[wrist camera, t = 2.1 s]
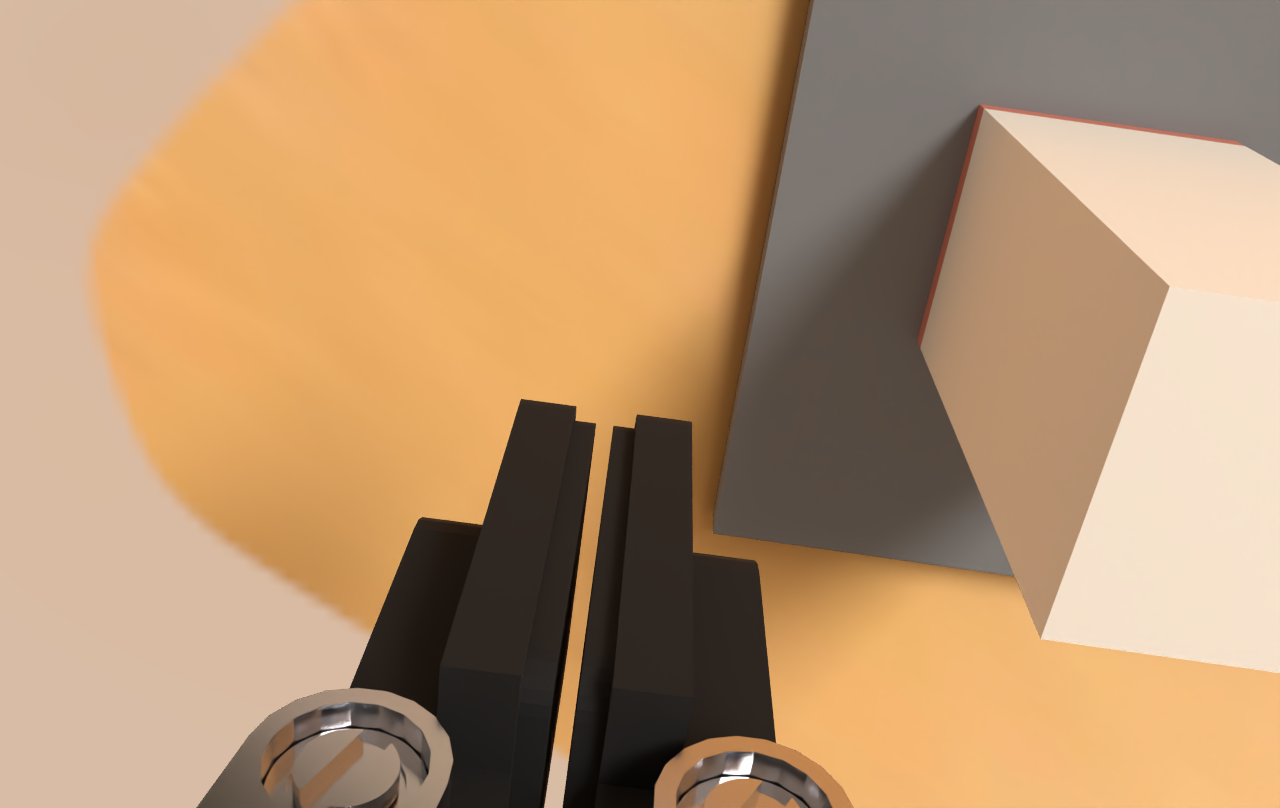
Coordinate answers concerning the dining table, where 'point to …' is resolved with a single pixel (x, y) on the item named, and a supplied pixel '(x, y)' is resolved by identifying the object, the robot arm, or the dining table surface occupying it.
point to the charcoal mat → (931, 239)
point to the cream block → (1120, 378)
